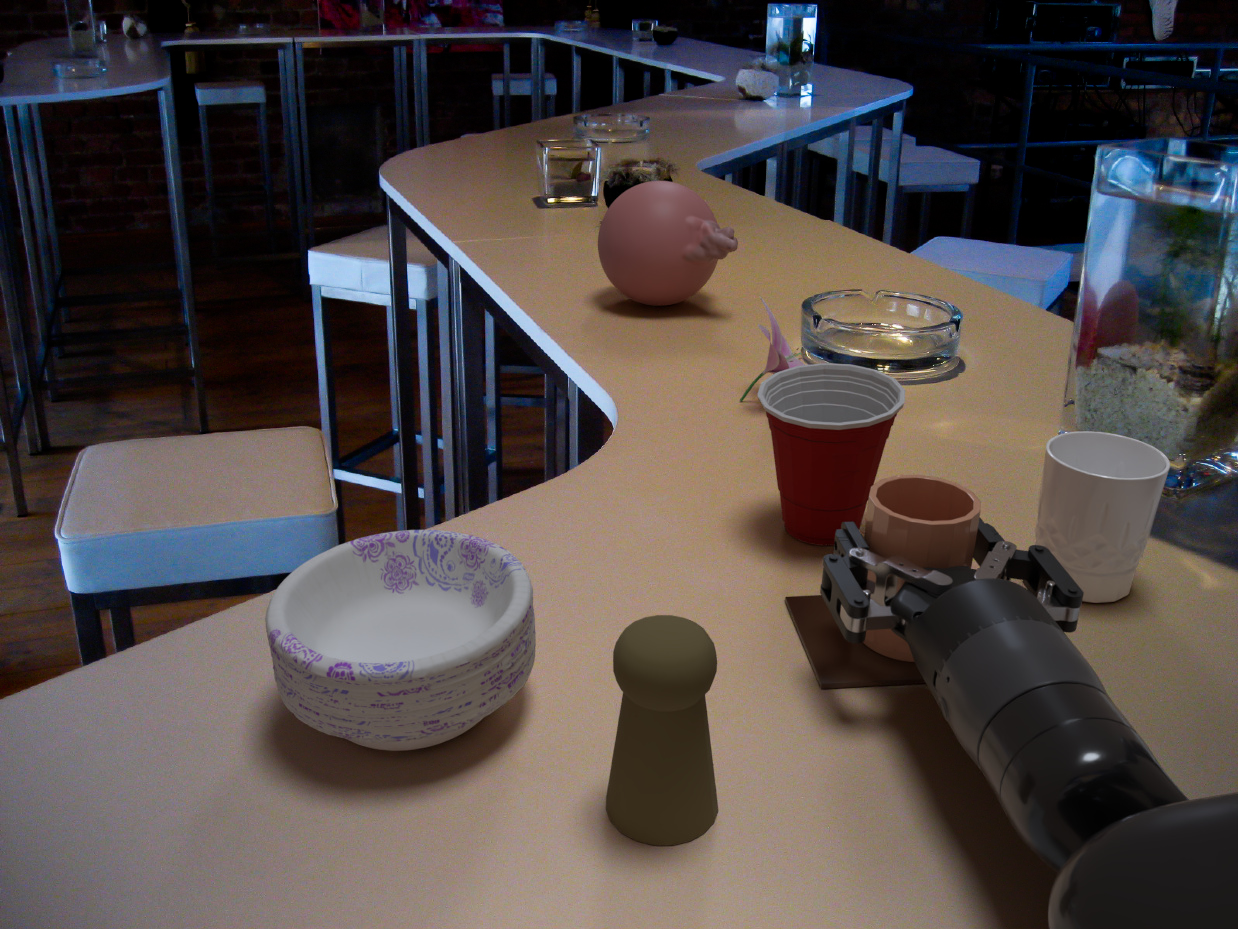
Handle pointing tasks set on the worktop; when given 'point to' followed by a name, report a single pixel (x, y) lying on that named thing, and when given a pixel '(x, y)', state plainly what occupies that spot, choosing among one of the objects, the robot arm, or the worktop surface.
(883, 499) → the peach cup
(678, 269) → the balloon
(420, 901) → the worktop surface
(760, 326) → the lily
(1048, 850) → the robot arm
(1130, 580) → the white cup
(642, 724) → the olive peg doll
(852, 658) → the walnut mat
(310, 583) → the paper bowls
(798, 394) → the plastic cup
